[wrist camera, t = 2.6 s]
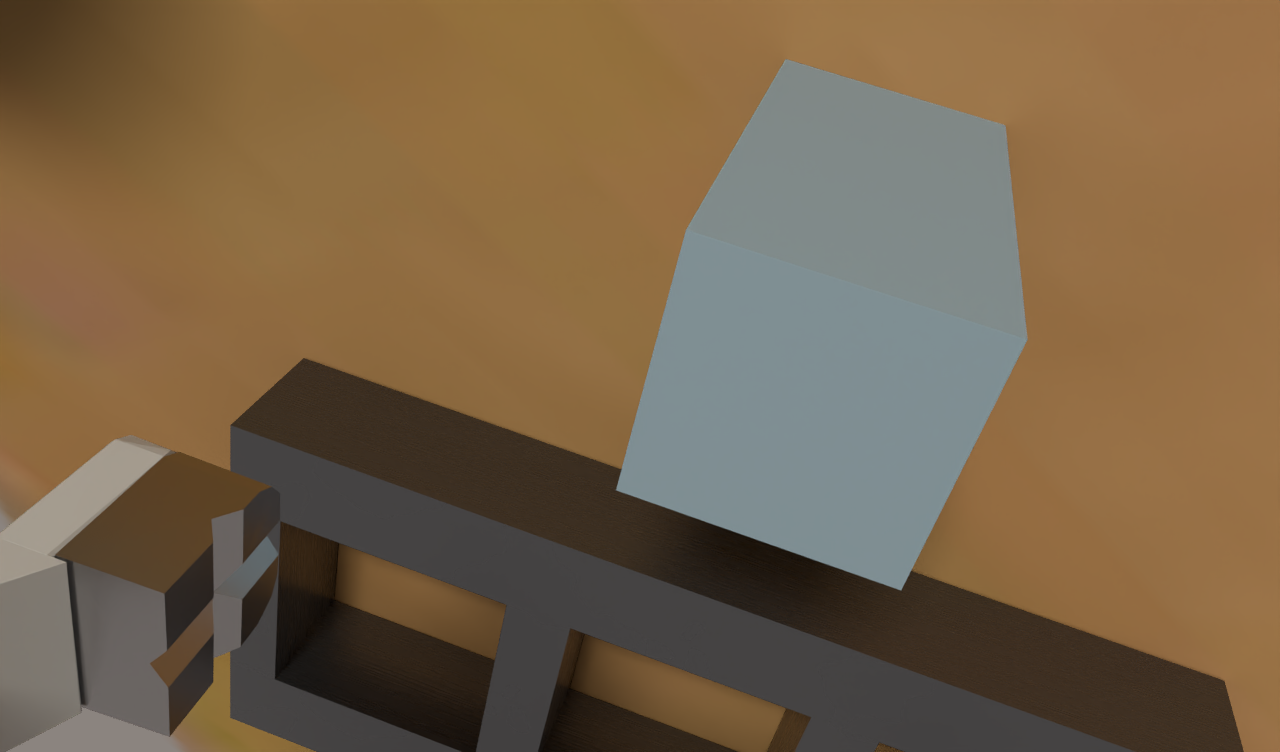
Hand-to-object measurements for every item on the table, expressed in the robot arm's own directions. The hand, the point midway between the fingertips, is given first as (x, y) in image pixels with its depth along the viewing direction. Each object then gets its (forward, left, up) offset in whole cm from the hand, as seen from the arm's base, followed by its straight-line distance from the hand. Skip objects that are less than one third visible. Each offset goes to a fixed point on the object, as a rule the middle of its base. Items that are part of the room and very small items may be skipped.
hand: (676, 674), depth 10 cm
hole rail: (-1, +13, -12) cm, 18 cm away
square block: (-1, 0, -12) cm, 12 cm away
